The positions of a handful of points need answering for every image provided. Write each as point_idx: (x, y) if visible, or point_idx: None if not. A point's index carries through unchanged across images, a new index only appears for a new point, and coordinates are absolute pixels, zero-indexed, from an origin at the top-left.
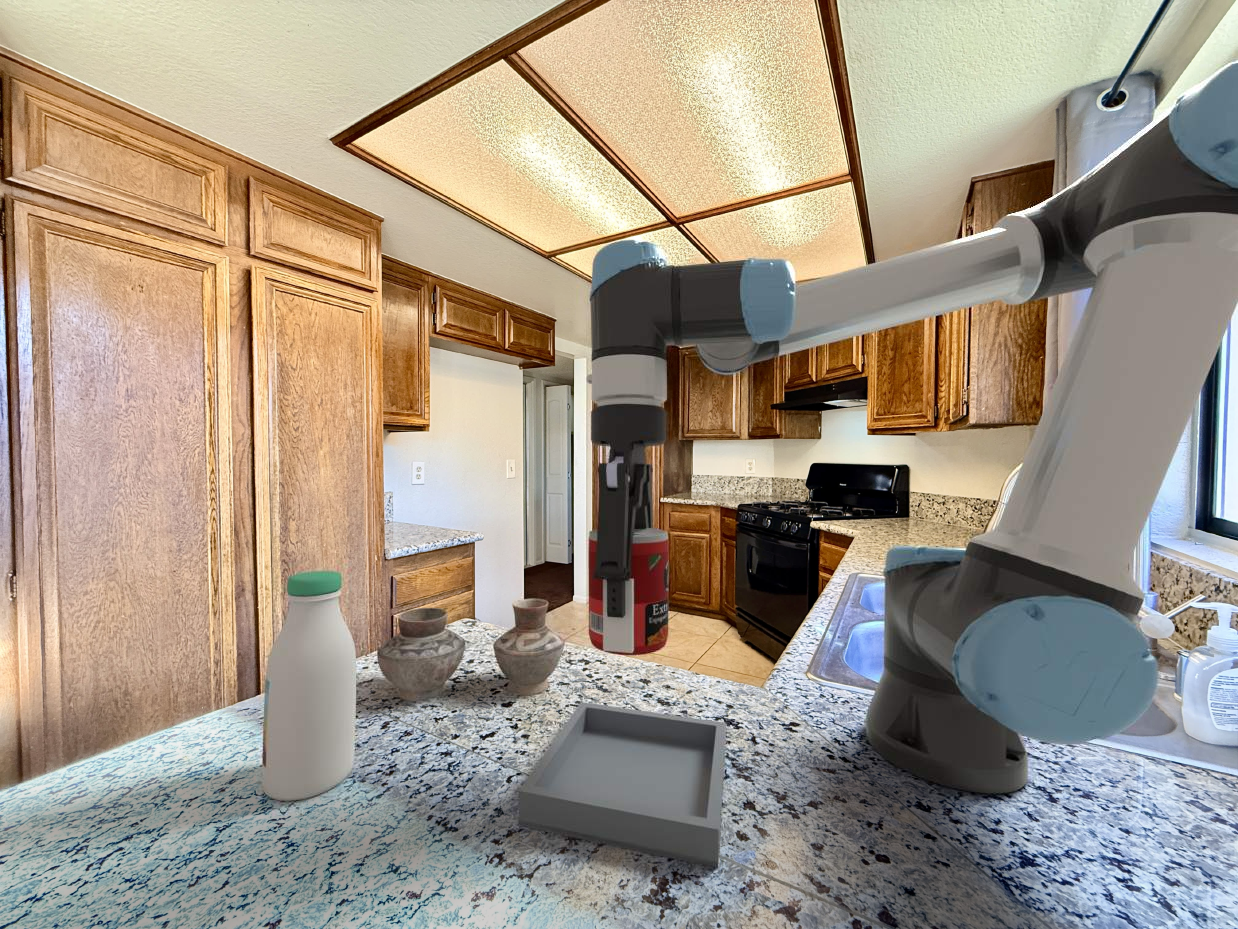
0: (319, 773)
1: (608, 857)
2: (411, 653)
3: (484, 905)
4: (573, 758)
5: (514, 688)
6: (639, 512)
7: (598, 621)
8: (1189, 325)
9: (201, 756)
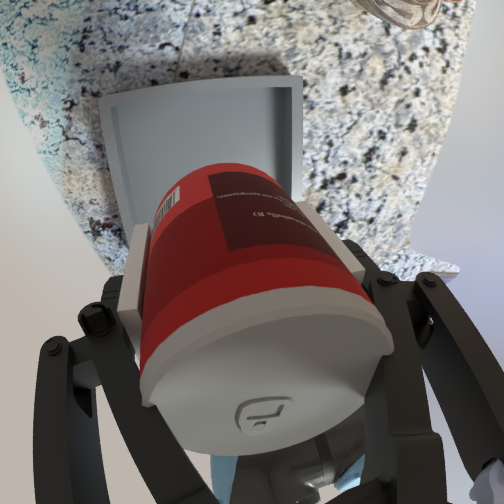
0: None
1: (108, 182)
2: None
3: (35, 127)
4: (216, 94)
5: None
6: (369, 439)
7: (155, 225)
8: None
9: None
